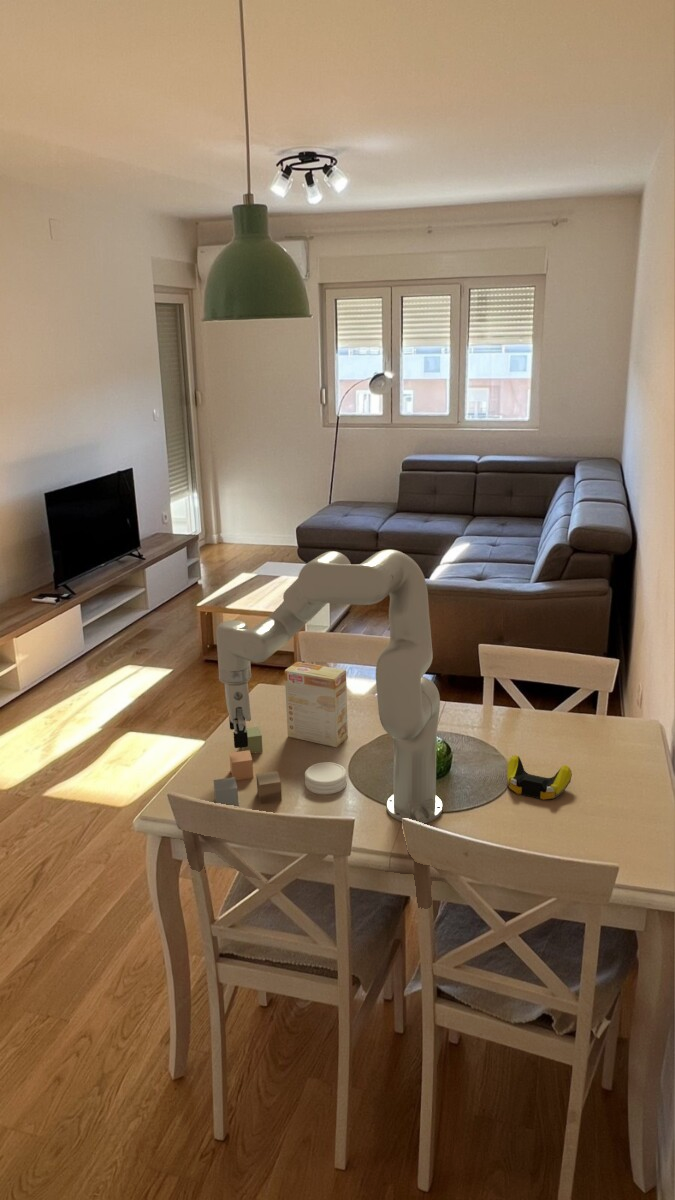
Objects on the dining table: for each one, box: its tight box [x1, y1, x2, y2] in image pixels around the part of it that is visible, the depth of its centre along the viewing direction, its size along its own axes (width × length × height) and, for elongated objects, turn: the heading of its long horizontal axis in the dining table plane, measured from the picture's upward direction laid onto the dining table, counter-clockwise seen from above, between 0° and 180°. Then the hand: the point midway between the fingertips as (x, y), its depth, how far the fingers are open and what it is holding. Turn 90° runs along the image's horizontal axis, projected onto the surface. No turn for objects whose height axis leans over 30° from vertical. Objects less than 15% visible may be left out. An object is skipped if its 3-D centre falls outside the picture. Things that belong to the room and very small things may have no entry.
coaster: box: [304, 761, 348, 795], centre depth 198 cm, size 10×10×4 cm
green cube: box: [241, 726, 264, 754], centre depth 215 cm, size 5×5×5 cm
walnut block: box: [255, 770, 283, 804], centre depth 193 cm, size 5×5×5 cm
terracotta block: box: [229, 750, 254, 781], centre depth 203 cm, size 5×5×5 cm
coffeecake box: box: [284, 661, 349, 748], centre depth 218 cm, size 15×7×20 cm, turn 63°
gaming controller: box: [506, 755, 573, 800], centre depth 194 cm, size 15×6×10 cm
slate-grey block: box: [213, 776, 240, 807], centre depth 191 cm, size 5×5×5 cm
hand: (238, 737), depth 201 cm, fingers open, 9 cm apart
